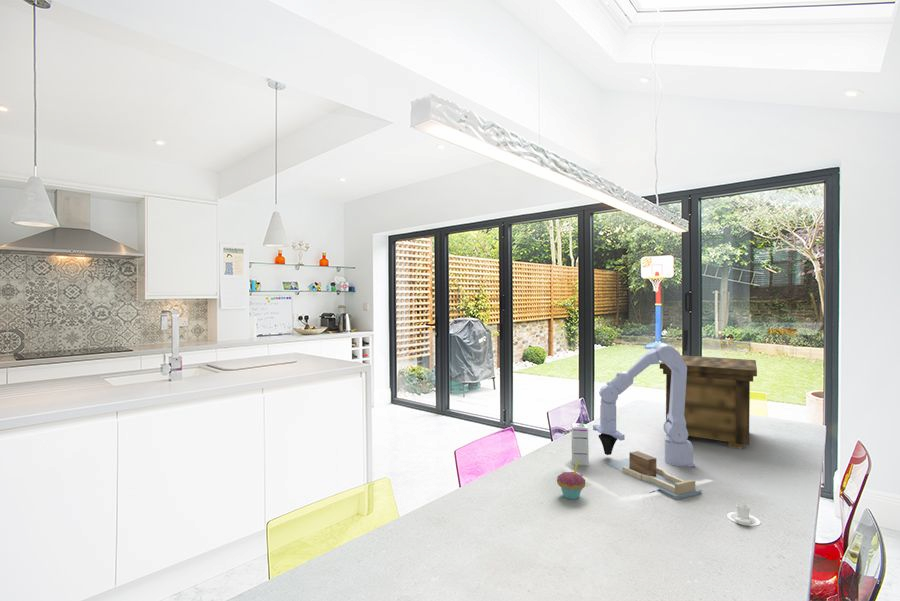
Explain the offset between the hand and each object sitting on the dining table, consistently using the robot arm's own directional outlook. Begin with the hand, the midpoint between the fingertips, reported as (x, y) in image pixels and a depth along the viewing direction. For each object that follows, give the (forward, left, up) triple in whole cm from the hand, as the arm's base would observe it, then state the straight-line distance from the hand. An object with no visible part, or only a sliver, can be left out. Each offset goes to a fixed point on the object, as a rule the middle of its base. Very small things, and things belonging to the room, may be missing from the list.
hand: (608, 454), depth 175 cm
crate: (-63, -6, -2) cm, 63 cm away
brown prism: (0, +16, -1) cm, 17 cm away
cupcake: (+33, +20, -2) cm, 39 cm away
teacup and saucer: (+1, +49, -3) cm, 49 cm away
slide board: (0, +19, -2) cm, 19 cm away
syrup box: (+13, 0, -2) cm, 13 cm away
